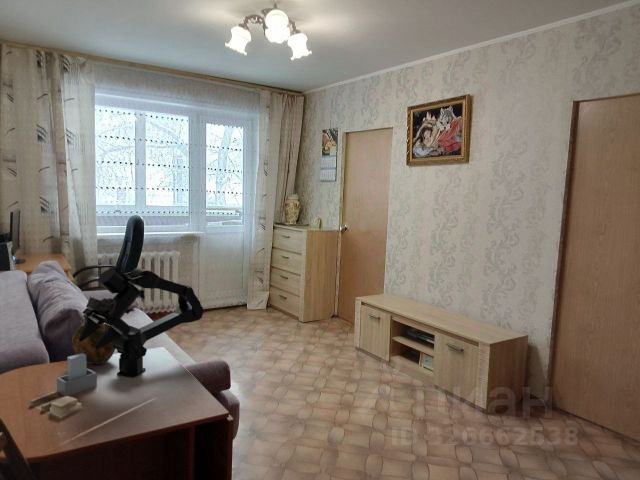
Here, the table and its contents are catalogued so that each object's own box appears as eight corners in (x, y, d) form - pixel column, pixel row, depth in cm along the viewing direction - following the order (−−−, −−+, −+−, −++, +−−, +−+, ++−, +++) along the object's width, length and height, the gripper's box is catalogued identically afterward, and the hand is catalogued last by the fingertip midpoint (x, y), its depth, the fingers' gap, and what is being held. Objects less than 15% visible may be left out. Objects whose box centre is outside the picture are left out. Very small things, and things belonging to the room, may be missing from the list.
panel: (83, 384, 139) (82, 353, 138) (86, 386, 138) (86, 354, 137) (67, 389, 136) (67, 357, 134) (71, 391, 134) (70, 358, 133)
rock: (122, 357, 163) (122, 316, 161) (103, 372, 150) (103, 327, 148) (87, 355, 163) (86, 314, 161) (65, 369, 151) (64, 325, 149)
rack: (53, 396, 132) (53, 385, 132) (84, 410, 126) (84, 398, 125) (28, 406, 126) (27, 394, 126) (59, 421, 120) (59, 409, 119)
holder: (88, 382, 142) (88, 368, 141) (96, 387, 139) (96, 373, 139) (56, 392, 135) (56, 377, 134) (65, 398, 132) (65, 382, 131)
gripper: (88, 281, 146) (52, 323, 138) (121, 292, 135) (83, 338, 127) (112, 301, 153) (79, 342, 145) (145, 313, 142) (111, 358, 134)
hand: (87, 344), depth 138 cm, fingers open, 9 cm apart
